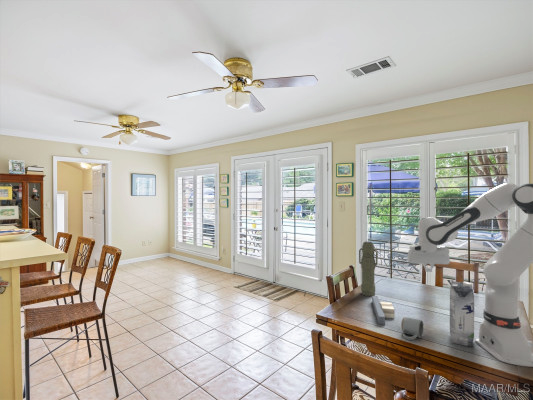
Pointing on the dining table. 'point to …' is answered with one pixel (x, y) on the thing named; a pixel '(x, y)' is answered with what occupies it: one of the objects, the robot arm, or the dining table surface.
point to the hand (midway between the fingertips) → (428, 271)
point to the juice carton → (462, 313)
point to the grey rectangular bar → (378, 310)
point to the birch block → (387, 309)
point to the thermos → (368, 268)
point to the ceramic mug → (412, 327)
